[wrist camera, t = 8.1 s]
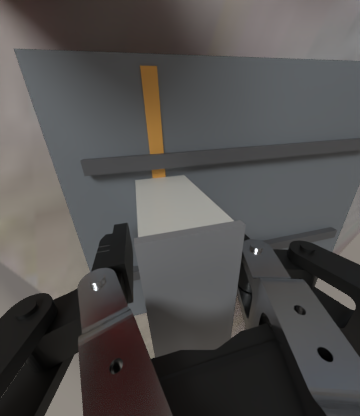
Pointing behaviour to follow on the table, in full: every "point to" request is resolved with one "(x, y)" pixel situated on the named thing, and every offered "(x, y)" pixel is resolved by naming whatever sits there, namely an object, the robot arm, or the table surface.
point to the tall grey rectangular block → (186, 264)
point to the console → (201, 138)
